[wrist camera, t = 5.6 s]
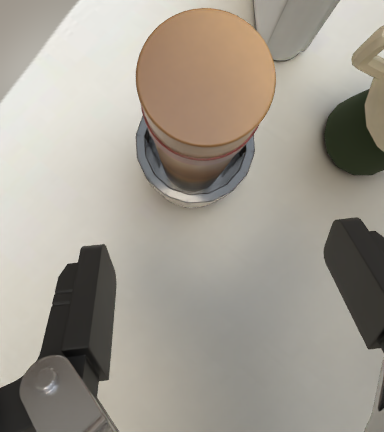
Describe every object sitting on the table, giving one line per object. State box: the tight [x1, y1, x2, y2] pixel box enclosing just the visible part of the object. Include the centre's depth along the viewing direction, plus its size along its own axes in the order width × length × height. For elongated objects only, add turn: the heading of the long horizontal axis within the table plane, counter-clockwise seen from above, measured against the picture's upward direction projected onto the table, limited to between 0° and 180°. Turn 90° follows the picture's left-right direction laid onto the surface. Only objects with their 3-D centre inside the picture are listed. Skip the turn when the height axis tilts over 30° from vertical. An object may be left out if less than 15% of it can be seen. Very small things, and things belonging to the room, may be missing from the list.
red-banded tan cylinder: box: [136, 8, 276, 191], centre depth 18 cm, size 5×5×15 cm
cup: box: [136, 116, 255, 208], centre depth 23 cm, size 7×7×6 cm
